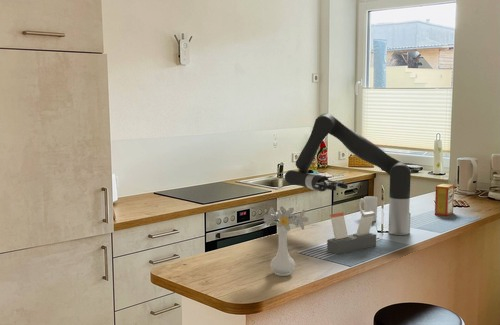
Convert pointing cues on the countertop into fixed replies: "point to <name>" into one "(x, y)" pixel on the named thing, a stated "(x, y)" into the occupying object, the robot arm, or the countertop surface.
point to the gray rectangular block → (351, 243)
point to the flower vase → (283, 237)
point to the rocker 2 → (365, 223)
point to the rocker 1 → (339, 225)
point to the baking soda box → (444, 199)
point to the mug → (369, 205)
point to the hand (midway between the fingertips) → (341, 187)
